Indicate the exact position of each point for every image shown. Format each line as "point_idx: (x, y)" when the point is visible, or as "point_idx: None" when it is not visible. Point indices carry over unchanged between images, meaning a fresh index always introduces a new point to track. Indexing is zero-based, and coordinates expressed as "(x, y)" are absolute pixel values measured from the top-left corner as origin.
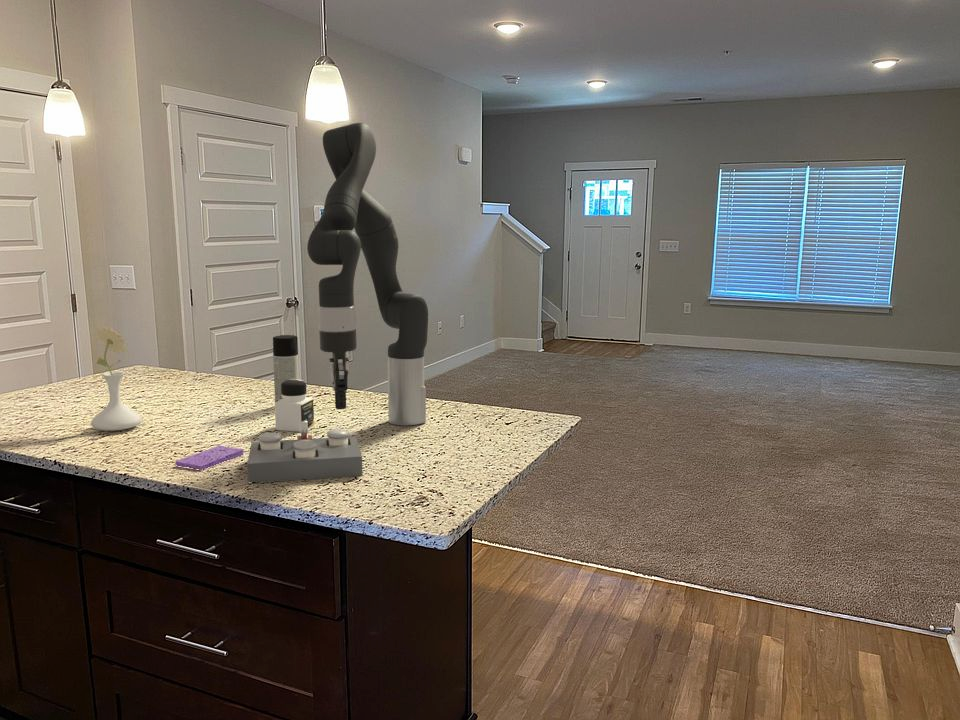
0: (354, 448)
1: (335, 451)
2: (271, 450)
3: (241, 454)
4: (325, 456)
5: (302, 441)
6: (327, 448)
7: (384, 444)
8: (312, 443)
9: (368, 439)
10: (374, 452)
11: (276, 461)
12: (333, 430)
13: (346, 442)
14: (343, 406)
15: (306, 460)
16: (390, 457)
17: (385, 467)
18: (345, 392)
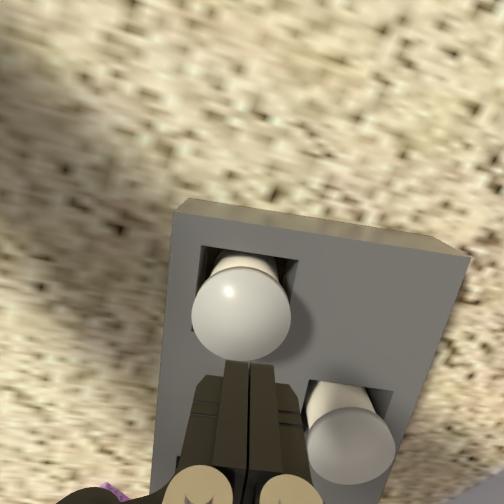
0: (354, 259)
1: (359, 331)
2: None
3: (110, 489)
4: (400, 371)
5: (326, 456)
6: (309, 348)
7: (92, 49)
8: (369, 433)
9: (2, 99)
10: (193, 125)
11: (376, 493)
12: (208, 331)
13: (271, 274)
14: (290, 393)
15: (407, 425)
16: (280, 80)
17: (389, 137)
18: (284, 470)
